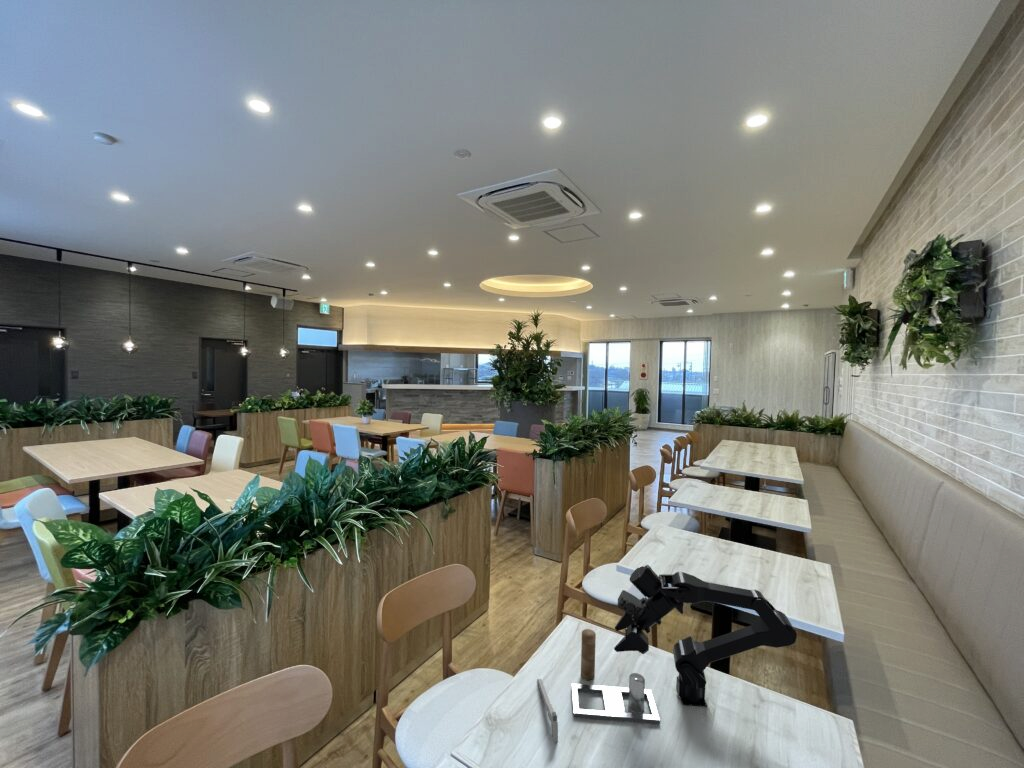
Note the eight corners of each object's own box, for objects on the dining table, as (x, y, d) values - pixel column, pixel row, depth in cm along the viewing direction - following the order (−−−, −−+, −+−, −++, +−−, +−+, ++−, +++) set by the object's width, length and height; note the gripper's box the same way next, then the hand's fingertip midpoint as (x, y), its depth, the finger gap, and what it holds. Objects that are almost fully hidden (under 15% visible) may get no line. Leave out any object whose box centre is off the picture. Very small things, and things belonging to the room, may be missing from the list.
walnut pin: (593, 671, 127) (594, 629, 126) (595, 681, 123) (596, 638, 122) (580, 670, 127) (581, 628, 126) (581, 680, 123) (582, 637, 122)
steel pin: (642, 701, 116) (643, 673, 115) (645, 713, 112) (646, 685, 111) (627, 700, 116) (628, 672, 116) (629, 712, 112) (630, 683, 112)
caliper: (558, 744, 103) (558, 719, 103) (553, 744, 103) (554, 720, 103) (540, 680, 123) (541, 659, 123) (536, 680, 123) (537, 660, 123)
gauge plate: (650, 693, 119) (650, 689, 118) (659, 724, 109) (660, 720, 109) (571, 687, 120) (571, 683, 120) (573, 717, 110) (573, 712, 110)
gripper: (634, 569, 129) (597, 599, 132) (635, 604, 111) (593, 638, 114) (661, 597, 127) (623, 627, 131) (667, 637, 109) (623, 671, 113)
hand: (615, 639), depth 122 cm, fingers open, 9 cm apart
